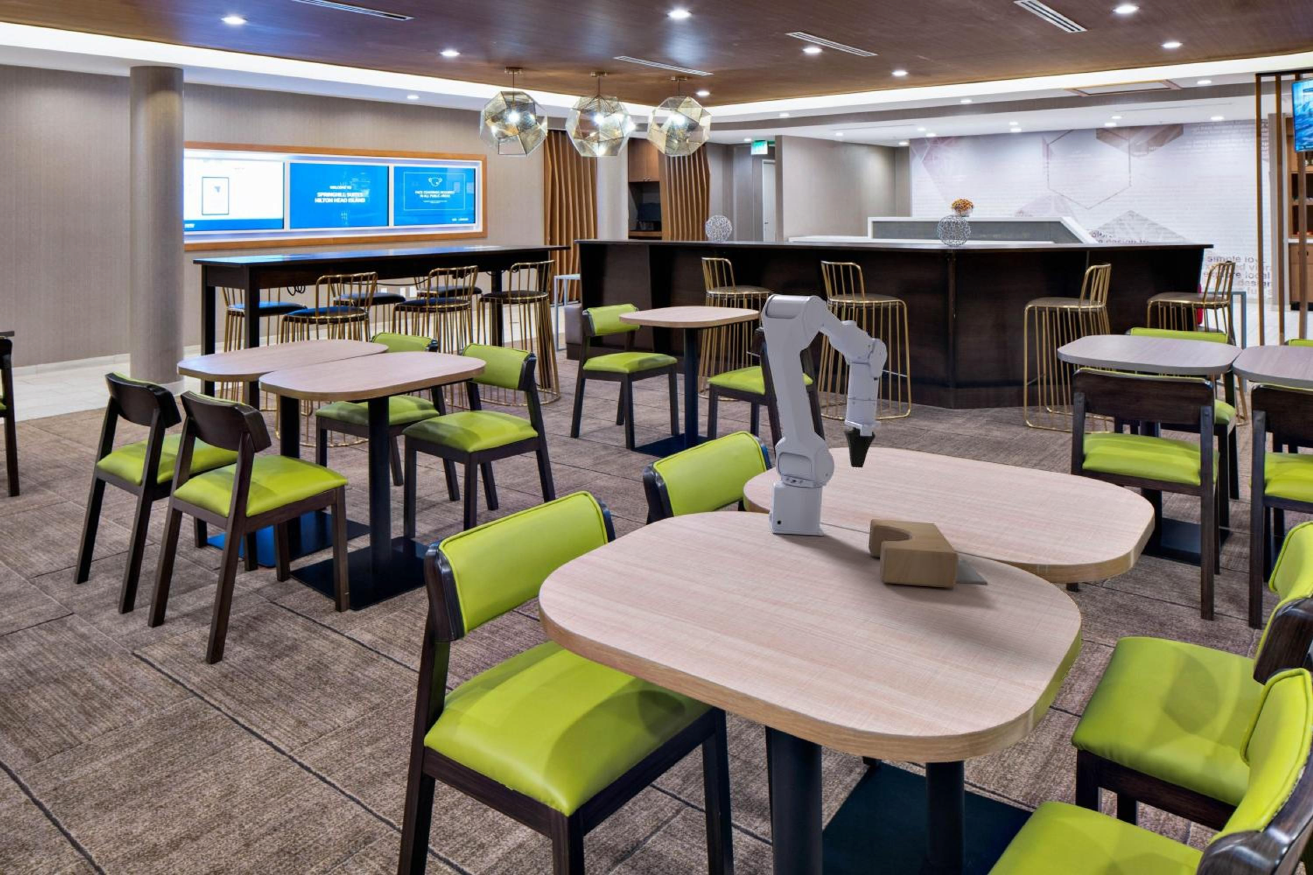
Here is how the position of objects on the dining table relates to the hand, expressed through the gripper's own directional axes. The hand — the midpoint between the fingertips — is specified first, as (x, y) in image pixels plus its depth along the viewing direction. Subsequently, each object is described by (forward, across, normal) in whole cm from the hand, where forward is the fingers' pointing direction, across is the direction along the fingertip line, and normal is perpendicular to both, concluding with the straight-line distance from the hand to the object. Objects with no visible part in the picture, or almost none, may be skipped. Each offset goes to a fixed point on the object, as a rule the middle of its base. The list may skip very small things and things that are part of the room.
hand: (856, 466), depth 188 cm
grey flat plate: (+10, -36, -7) cm, 38 cm away
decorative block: (+7, -26, -4) cm, 27 cm away
